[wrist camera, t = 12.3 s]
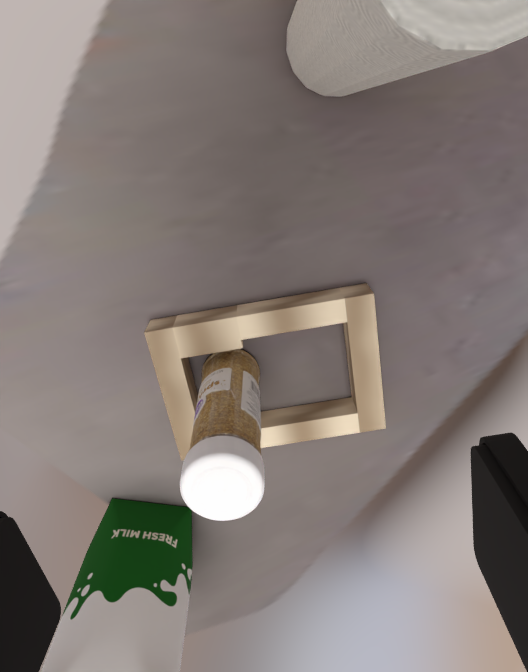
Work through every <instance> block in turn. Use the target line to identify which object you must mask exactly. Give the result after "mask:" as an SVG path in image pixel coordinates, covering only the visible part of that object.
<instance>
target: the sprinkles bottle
mask: <svg viewBox="0 0 528 672" xmlns="http://www.w3.org/2000/svg"><path fill="white" fill-rule="evenodd" d="M259 379H260V370H259V366H258V364H257V362H256V360H255V359H254V358H253V357H252V356H251V355H250V354H249V353H247V352H245V351H243V350H241V349H235V350H229V351H223V352H217V353H213V354H212V355H211V356H209V358H208V359H207V360H206V362H205V363H204V365H203V368H202V382H201V386H200V389H199V394H198V400H197V406H196V411H195V417H194V423H193V432H192V437H191V443H190V449H189V452H188V453H187V455H186V457H185V459H184V463H183V467H182V472H181V478H180V492H181V495H182V498H183V500H184V502H185V503H186V504H187V506H188V507H189V508H190V509H191V510H193V511H194V512H195V513H197V514H198V515H200V516H202V517H205V518H208V519H211V520H219V521H226V520H233V519H237V518H240V517H243V516H245V515H247V514H248V513H250V512H251V511H252V510H254V509H255V508H256V506H257V505H258V504H259V502H260V501H261V499H262V497H263V493H264V486H265V470H264V462H263V459H262V457H261V443H260V441H261V410H260V389H259V386H258V383H259Z"/></svg>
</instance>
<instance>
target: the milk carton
mask: <svg viewBox="0 0 528 672" xmlns="http://www.w3.org/2000/svg"><path fill="white" fill-rule="evenodd" d="M191 578H192V510H191V509H190V508H189V507H181V506H173V505H165V504H156V503H148V502H139V501H131V500H122V499H114V498H112V500H111V502H110V504H109V506H108V509H107V511H106V513H105V515H104V517H103V519H102V521H101V523H100V525H99V527H98V529H97V532H96V534H95V536H94V538H93V540H92V542H91V544H90V547H89V549H88V551H87V553H86V556H85V558H84V561H83V564H82V566H81V568H80V571H79V574H78V576H77V579H76V581H75V584H74V587H73V590H72V592H71V594H70V597H69V600H68V602H67V605H66V607H65V610H64V613H63V615H62V618H61V620H60V623H59V626H58V628H57V631H56V633H55V636H54V639H53V641H52V644H51V647H50V650H49V652H48V655H47V658H46V660H45V663H44V666H43V669H42V671H41V672H180V667H181V659H182V652H183V644H184V637H185V629H186V621H187V614H188V606H189V598H190V590H191Z"/></svg>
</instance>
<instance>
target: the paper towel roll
mask: <svg viewBox="0 0 528 672" xmlns="http://www.w3.org/2000/svg"><path fill="white" fill-rule="evenodd" d="M527 36H528V0H297V2H296V5H295V8H294V11H293V13H292V16H291V19H290V21H289V24H288V27H287V47H286V52H287V55H288V58H289V61H290V64H291V67H292V70H293V72H294V74H295V75H296V76H297V77H298V78H299V80H300V81H301V82H302V83H303V84H304V86H305V87H306V88H308V89H310V90H312V91H314V92H316V93H318V94H320V95H322V96H339V97H343V96H346V95H349V94H353V93H356V92H359V91H363V90H366V89H369V88H373V87H376V86H379V85H383V84H386V83H389V82H392V81H396V80H399V79H402V78H406V77H409V76H412V75H416V74H419V73H422V72H426V71H429V70H432V69H435V68H439V67H442V66H445V65H449V64H452V63H455V62H459V61H462V60H465V59H469V58H472V57H475V56H478V55H482V54H485V53H488V52H491V51H494V50H496V49H498V48H501V47H503V46H505V45H508V44H510V43H513V42H515V41H517V40H520V39H522V38H524V37H527Z"/></svg>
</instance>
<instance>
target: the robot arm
mask: <svg viewBox="0 0 528 672" xmlns="http://www.w3.org/2000/svg"><path fill="white" fill-rule="evenodd" d="M471 476H472V508H473V540H474V551H475V555H476V559H477V562H478V565H479V567H480V570H481V572H482V574H483V576H484V578H485V580H486V583H487V585H488V587H489V589H490V592H491V594H492V596H493V598H494V600H495V603H496V605H497V607H498V609H499V611H500V614H501V615H502V618H503V620H504V622H505V624H506V627H507V629H508V631H509V633H510V635H511V638H512V640H513V642H514V644H515V646H516V649H517V651H518V653H519V655H520V657H521V660H522V662H523V664H524V666H525V668H526V670H527V672H528V451H527V449H526V448H525V447H524V445H523V444H522V443H521V441H520V440H519V439H518V437H517V436H516V435H515V434H513V433H505V434H499V435H492V436H486V437H482V438H480V443H479V446H473V447H472V448H471ZM60 614H61V607H60V602H59V600H58V598H57V597H56V595H55V593H54V591H53V589H52V587H51V586H50V584H49V582H48V580H47V578H46V576H45V575H44V573H43V571H42V569H41V567H40V566H39V564H38V562H37V560H36V558H35V557H34V555H33V553H32V551H31V549H30V547H29V545H28V544H27V542H26V540H25V538H24V536H23V535H22V533H21V531H20V529H19V527H18V525H17V524H16V522H15V521H14V519H13V518H11V517H8V516H7V515H6V514H5V513H4V512H2V511H0V672H39V670H40V667H41V664H42V662H43V660H44V657H45V655H46V652H47V650H48V647H49V645H50V642H51V640H52V638H53V635H54V632H55V630H56V628H57V625H58V623H59V620H60Z"/></svg>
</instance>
